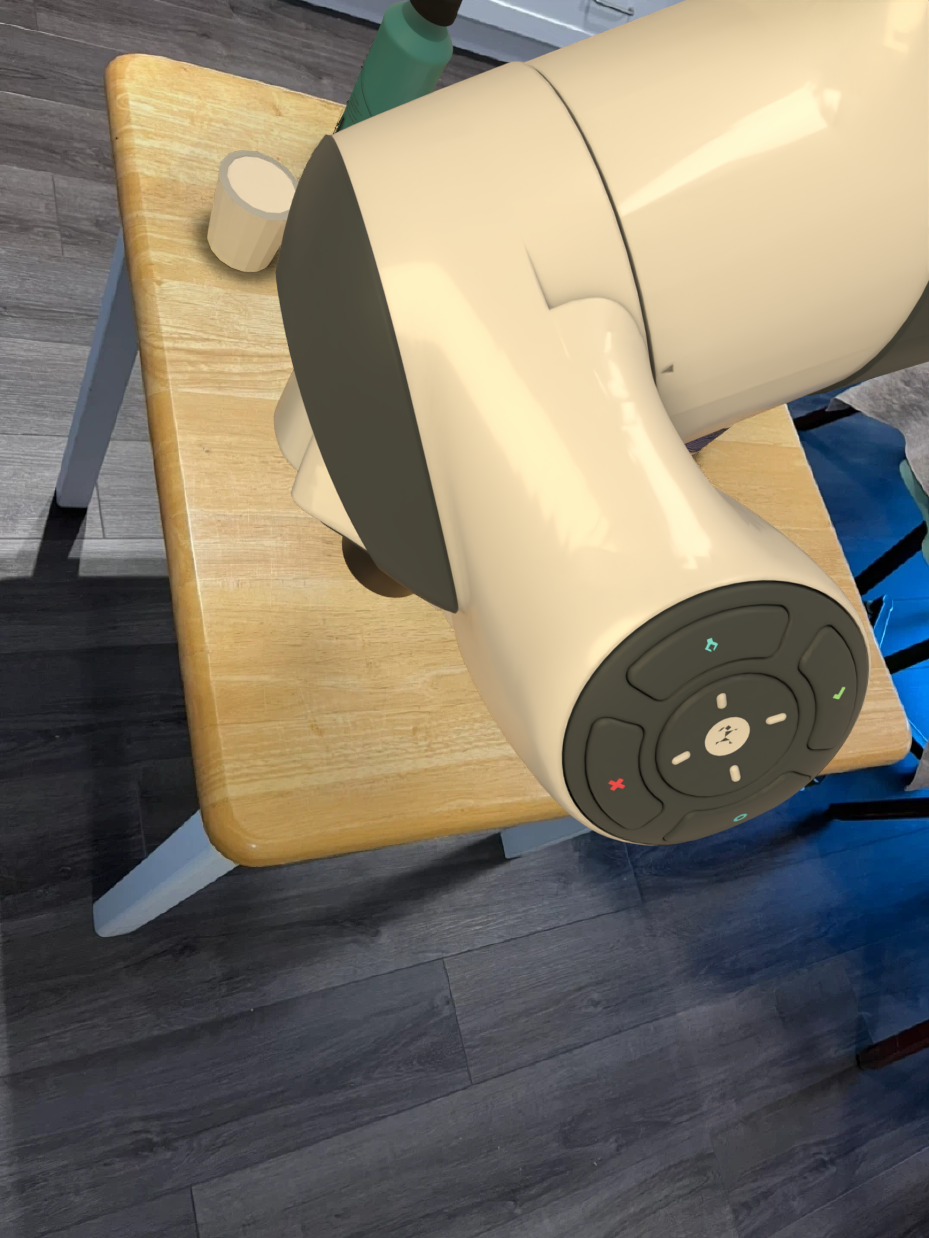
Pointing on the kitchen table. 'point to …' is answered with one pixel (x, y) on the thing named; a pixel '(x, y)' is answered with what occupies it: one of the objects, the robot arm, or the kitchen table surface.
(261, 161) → the shot glass
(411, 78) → the beverage bottle
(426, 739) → the kitchen table surface
